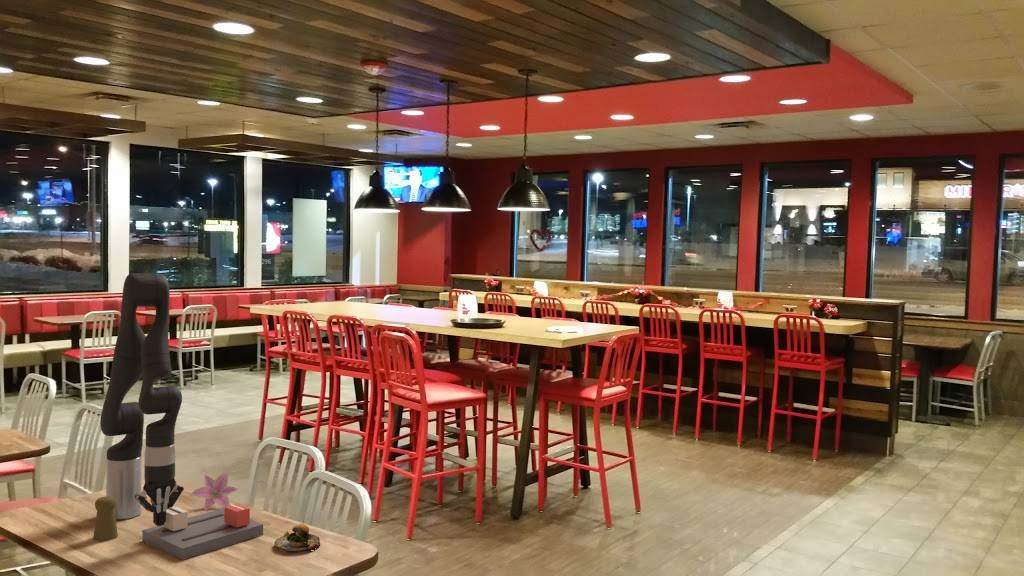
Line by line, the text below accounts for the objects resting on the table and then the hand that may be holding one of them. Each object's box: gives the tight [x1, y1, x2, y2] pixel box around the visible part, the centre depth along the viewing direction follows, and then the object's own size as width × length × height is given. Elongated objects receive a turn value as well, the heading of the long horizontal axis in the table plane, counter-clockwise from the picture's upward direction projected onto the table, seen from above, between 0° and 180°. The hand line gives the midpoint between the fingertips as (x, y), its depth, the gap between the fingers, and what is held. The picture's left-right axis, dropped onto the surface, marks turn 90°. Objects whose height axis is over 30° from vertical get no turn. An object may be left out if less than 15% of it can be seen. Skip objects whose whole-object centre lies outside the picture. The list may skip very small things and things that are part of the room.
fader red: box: [223, 503, 251, 528], centre depth 219 cm, size 6×4×5 cm, turn 53°
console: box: [141, 508, 264, 561], centre depth 217 cm, size 20×24×3 cm
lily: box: [191, 470, 238, 511], centre depth 244 cm, size 12×12×10 cm
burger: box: [273, 517, 321, 552], centre depth 212 cm, size 12×12×8 cm
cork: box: [92, 496, 119, 542], centre depth 215 cm, size 6×6×11 cm
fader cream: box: [162, 506, 189, 531], centre depth 215 cm, size 6×4×5 cm, turn 53°
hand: (159, 525), depth 212 cm, fingers closed
